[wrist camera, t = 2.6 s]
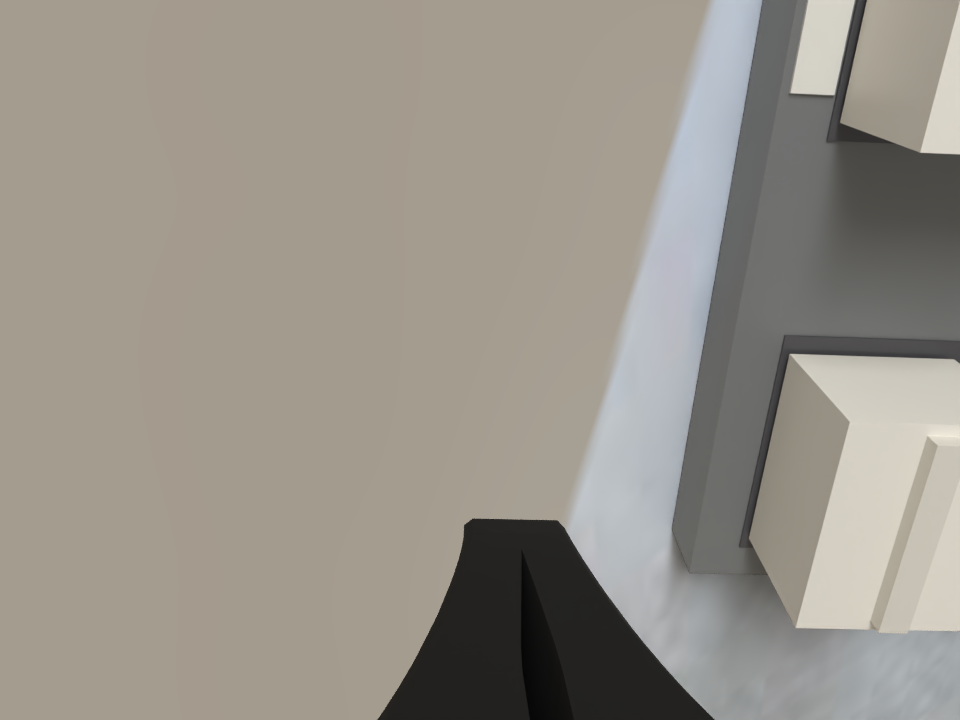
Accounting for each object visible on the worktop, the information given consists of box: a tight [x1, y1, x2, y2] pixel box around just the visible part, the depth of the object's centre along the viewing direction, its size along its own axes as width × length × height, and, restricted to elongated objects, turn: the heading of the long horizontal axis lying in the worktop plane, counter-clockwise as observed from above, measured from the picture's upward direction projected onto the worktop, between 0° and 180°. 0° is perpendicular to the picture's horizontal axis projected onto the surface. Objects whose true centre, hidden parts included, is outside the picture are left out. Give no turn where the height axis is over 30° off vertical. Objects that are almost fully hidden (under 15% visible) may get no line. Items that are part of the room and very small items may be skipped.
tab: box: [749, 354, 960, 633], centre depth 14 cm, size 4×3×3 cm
